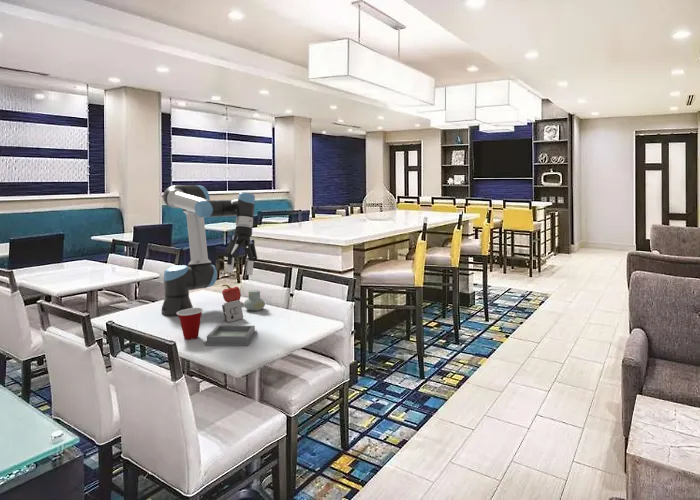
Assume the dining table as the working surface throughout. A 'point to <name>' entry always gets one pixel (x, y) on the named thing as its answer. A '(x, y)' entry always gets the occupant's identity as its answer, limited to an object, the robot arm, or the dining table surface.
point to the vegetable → (231, 294)
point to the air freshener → (254, 301)
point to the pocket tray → (231, 335)
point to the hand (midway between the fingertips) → (239, 273)
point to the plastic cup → (190, 322)
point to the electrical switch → (232, 311)
